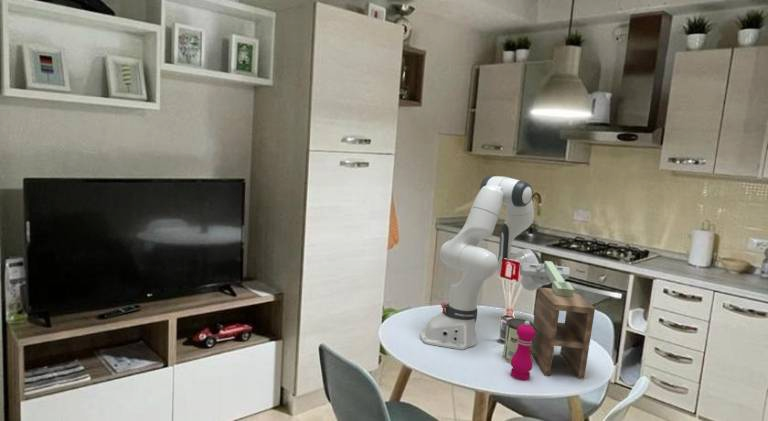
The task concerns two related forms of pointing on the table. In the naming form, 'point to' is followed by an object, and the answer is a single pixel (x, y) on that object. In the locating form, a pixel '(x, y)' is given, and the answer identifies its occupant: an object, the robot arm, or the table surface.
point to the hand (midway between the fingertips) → (550, 266)
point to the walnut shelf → (562, 330)
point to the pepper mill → (523, 352)
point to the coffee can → (513, 338)
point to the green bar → (558, 281)
